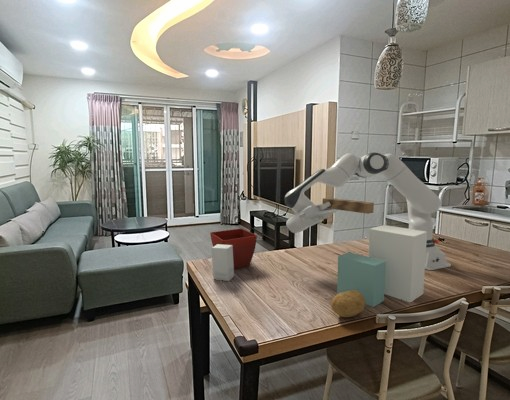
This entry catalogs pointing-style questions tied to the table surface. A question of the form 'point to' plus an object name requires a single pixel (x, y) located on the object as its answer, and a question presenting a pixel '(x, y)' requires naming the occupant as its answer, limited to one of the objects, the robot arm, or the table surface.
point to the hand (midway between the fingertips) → (334, 202)
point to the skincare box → (223, 262)
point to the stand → (400, 259)
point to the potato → (348, 303)
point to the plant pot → (237, 244)
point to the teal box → (362, 276)
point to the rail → (350, 205)
